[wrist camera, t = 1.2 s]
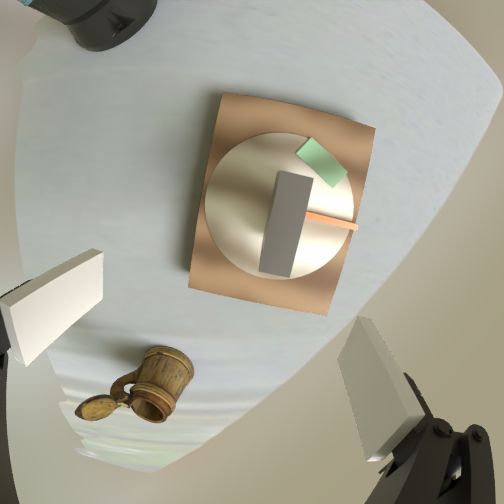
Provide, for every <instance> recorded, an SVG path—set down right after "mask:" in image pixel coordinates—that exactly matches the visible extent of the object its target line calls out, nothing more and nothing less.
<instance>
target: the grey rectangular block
mask: <svg viewBox="0 0 504 504" xmlns="http://www.w3.org/2000/svg"><path fill="white" fill-rule="evenodd" d="M313 180H314V178H312V177H308V176H303V175H299V174H295V173H291V172H286V171H282V170H280V171H278V172H277V175H276V179H275V184H274V189H273V193H272V198H271V203H270V207H269V212H268V217H267V221H266V226H265V230H264V235H263V240H262V247H261V255H260V263H259V271H258V272H263V273H268V274H272V275H277V276H282V277H287V278H290V275H291V271H292V267H293V263H294V259H295V255H296V252H297V248H298V244H299V240H300V236H301V232H302V227H303V223H304V219H305V218H307V219H311V220H316V221H320V222H324V223H328V224H332V225H336V226H340V227H344V228H348V229H352V230H356V231H357V229H358V224H355V223H351V222H348V221H344V220H340V219H336V218H332V217H328V216H324V215H320V214H316V213H312V212H307V207H308V202H309V198H310V194H311V189H312V185H313Z"/></svg>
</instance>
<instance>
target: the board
mask: <svg viewBox="0 0 504 504" xmlns="http://www.w3.org/2000/svg"><path fill="white" fill-rule="evenodd" d="M374 134H375V128H373V127H370V126H367V125H364V124H361V123H358V122H355V121H352V120H349V119H346V118H342V117H339V116H336V115H332V114H329V113H325V112H321V111H318V110H314V109H310V108H306V107H302V106H298V105H293V104H289V103H284V102H279V101H274V100H269V99H263V98H258V97H252V96H245V95H238V94H231V93H223V95H222V99H221V103H220V107H219V111H218V116H217V120H216V125H215V129H214V134H213V139H212V143H211V148H210V153H209V158H208V163H207V168H206V174H205V179H204V184H203V190H202V196H201V202H200V207H199V214H198V220H197V226H196V233H195V239H194V246H193V253H192V261H191V268H190V276H189V284H188V287H189V288H193V289H197V290H201V291H206V292H210V293H214V294H219V295H223V296H228V297H232V298H237V299H241V300H246V301H251V302H256V303H260V304H265V305H270V306H275V307H280V308H286V309H291V310H296V311H302V312H307V313H313V314H318V315H324V316H326V315H327V313H328V310H329V307H330V304H331V301H332V298H333V295H334V292H335V289H336V286H337V283H338V280H339V277H340V274H341V271H342V268H343V264H344V261H345V258H346V254H347V251H348V247H349V244H350V240H351V237H352V233H353V230H352V229H348V228H344V227H340V226H336V225H332V224H328V223H324V222H320V221H316V220H311V219H307V218H305V219H304V223H303V227H302V232H301V236H300V240H299V244H298V248H297V252H296V255H295V259H294V263H293V267H292V271H291V275H290V278H287V277H282V276H277V275H272V274H268V273H263V272H258V271H259V263H260V255H261V247H262V240H263V235H264V230H265V226H266V221H267V217H268V212H269V207H270V203H271V198H272V193H273V189H274V184H275V179H276V175H277V172H278V171H280V170H282V171H286V172H291V173H295V174H299V175H303V176H308V177H312V178H314V180H313V185H312V189H311V194H310V198H309V202H308V207H307V212H312V213H316V214H320V215H324V216H328V217H332V218H336V219H340V220H344V221H348V222H351V223H355V222H356V218H357V214H358V210H359V206H360V202H361V198H362V194H363V189H364V185H365V180H366V176H367V171H368V166H369V161H370V156H371V151H372V145H373V140H374Z"/></svg>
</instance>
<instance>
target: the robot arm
mask: <svg viewBox="0 0 504 504" xmlns="http://www.w3.org/2000/svg"><path fill="white" fill-rule="evenodd" d="M18 1H19V2H21V3H23V4H24V6H29V7H31V8H33V9H36V10H38V11H40V12H42V13H44V14H46V15H48V16H50V17H52V18H54V19H56V20H58V21H60V22H61V23H63V24H65V25H67V27H68V29H69V30H70V32H71V33H72V34H73V36H74V38H75V40H76V42H77V43H78V44H79V45H80V46H82V47H84V48H86V49H87V50H90V51H104V50H108V49H110V48H113V47H115V46H117V45H119V44H121V43H123V42H124V41H126V40H127V39H129V38H130V37H131V36H133V35H134V34H135V33H136V32H137V31H139V30H140V29H141V28H142V27H143V26H144V24H145V23H146V22H147V21H148V20H149V18H150V17H151V15H152V14H153V12H154V10H155V7H156V4H157V0H18ZM102 281H103V252H102V251H99V250H96V249H93V248H92V249H90V250H88V251H86V252H84V253H82V254H80V255H78V256H76V257H74V258H72V259H70V260H68V261H66V262H64V263H62V264H60V265H58V266H56V267H55V268H53V269H51V270H49V271H47V272H45V273H44V274H42V275H40V276H38V277H36V278H34V279H32V280H28V281H26V282H24V283H23V284H21V285H20V286H18V287H16V288H14V290H11V291H9V292H7V293H5V294H4V295H2V296H1V297H0V504H19V501H18V497H17V493H16V489H15V484H14V479H13V474H12V469H11V462H10V455H9V448H8V439H7V438H8V437H7V424H6V382H7V367H8V354H7V350H8V349H9V348H11V349H12V352H13V355H14V358H15V359H16V360H17V361H19V362H20V363H21V364H23V365H24V366H28V365H29V364H30V363H31V362H32V361H33V360H34V359H35V358H36V357H37V356H38V355H39V354H40V353H41V352H42V351H43V350H45V349H46V348H47V347H48V346H49V345H50V344H51V343H52V342H53V341H54V340H55V339H57V338H58V337H59V336H60V335H61V334H62V333H63V332H64V331H65V330H67V329H68V328H69V327H70V326H71V325H72V324H73V323H75V322H76V321H77V320H78V319H79V318H80V317H82V316H83V315H84V314H85V313H86V312H87V311H89V310H90V309H91V308H92V307H93V306H94V305H96V304H97V303H98V302H99V301H100V300H102V299H103V290H102ZM338 363H339V366H340V369H341V372H342V376H343V379H344V382H345V385H346V389H347V392H348V396H349V399H350V402H351V406H352V409H353V413H354V417H355V420H356V424H357V427H358V431H359V435H360V438H361V442H362V446H363V450H364V454H365V458H366V461H378V460H383V459H385V458H386V457H387V456H388V455H389V454H390V453H391V452H392V453H393V456H394V458H393V459H392V460H391V461H390V462H389V463H388V464H387V465H386V466H385V467H384V468H382V469H381V470H380V471H379V473H380V474H381V473H382V472H383V471H384V473H383V475H382V477H381V478H380V480H379V482H378V483H377V485H376V487H375V488H374V490H373V491H372V493H371V495H370V496H369V498H368V499H367V501H366V502H365V504H496V502H495V501H496V500H495V479H494V469H493V460H492V453H491V447H490V441H489V436H488V434H487V432H486V431H485V429H484V428H483V427H481V426H479V425H476V424H473V425H471V426H469V427H468V428H467V430H466V431H465V432H464V433H459V432H454V431H453V429H452V427H451V426H450V424H449V423H448V422H446V421H445V420H443V419H440V418H434V417H433V415H432V413H431V411H430V409H429V408H428V406H427V404H426V402H425V400H424V398H423V397H422V396H421V393H420V391H419V390H418V388H417V386H416V384H415V383H414V381H413V379H411V378H410V377H409V376H408V375H407V374H406V373H403V372H402V370H401V369H400V367H399V365H398V363H397V362H396V360H395V358H394V357H393V355H392V353H391V351H390V350H389V348H388V346H387V345H386V343H385V341H384V340H383V338H382V336H381V335H380V333H379V331H378V330H377V328H376V326H375V325H374V323H373V322H372V320H371V319H370V318H365V317H359V316H358V317H357V319H356V322H355V323H354V326H353V328H352V330H351V332H350V335H349V337H348V339H347V341H346V343H345V345H344V347H343V349H342V351H341V353H340V355H339V357H338ZM460 470H461V476H460V477H459V478H457V479H456V473H458V472H459V471H460Z"/></svg>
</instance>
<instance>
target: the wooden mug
mask: <svg viewBox="0 0 504 504" xmlns="http://www.w3.org/2000/svg"><path fill="white" fill-rule="evenodd" d="M193 376H194V367H193V365H192V363H191V361H190V360H189V359H188V357H187V356H185V355H184V354H183V353H182V352H180V351H178V350H176V349H173V348H170V347H162V346H157V347H154V348H151V349H150V350H149V351H148V352H147V353H146V354H145V356H144V358H143V362H142V365H141V366H140V367H139V368H138V369H137V370H135V371H133V372H131V373H129V374H127V375H124V376H122V377H120V378H118V379H117V380H116V381H115V382H114V383H113V385H112V387H111V389H110V395H106V394H102V395H97V396H93V397H91V398H88V399H87V400H85V401H84V402H82V403H81V404H80V405H79V406H78V408H77V409H76V410H75V415H76V416H78V417H79V418H81V419H84V420H88V421H97V420H100V419H103V418H105V417H107V416H109V415H110V414H111V413H112V412H113V411H114V410H115V409H116V408H117V407H120V406H124V407H127V408H130V407H131V408H132V409H133V411H134V412H135V413H136V414H137V415H138V416H139V417H141V418H143V419H145V420H147V421H149V422H153V423H161V422H164V421H166V419H167V417H168V416H170V415H171V414H172V412H173V411H174V409H175V404H176V402H177V400H178V398H179V397H180V395H181V394H182V392H183V390H184V389H185V387H186V386H188V384H189V383H190V381H191V380H192V378H193ZM127 384H135V385H133V386H132V387H131V388H130V390H129V391H130V394H129V393H126V392H125V391H124V386H125V385H127Z"/></svg>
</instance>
